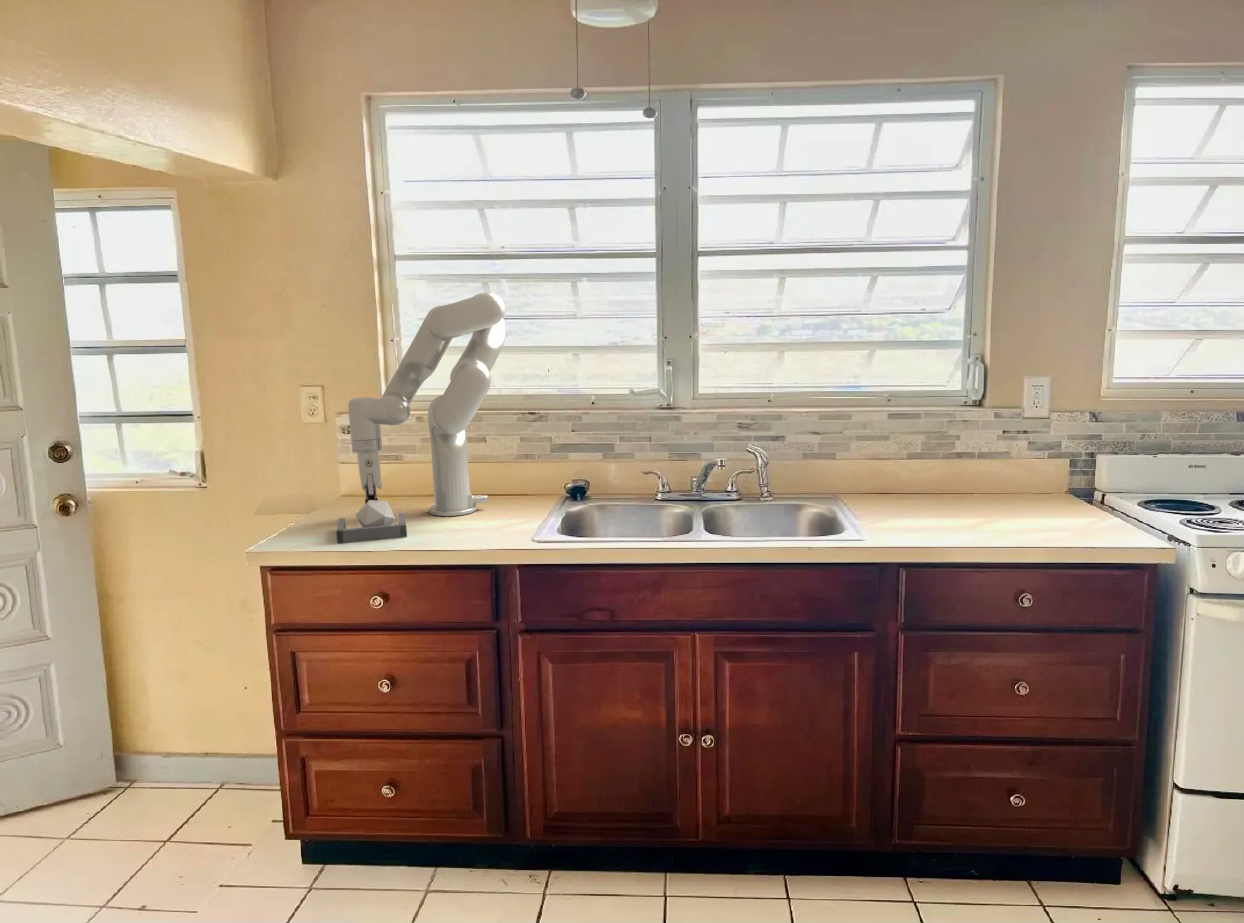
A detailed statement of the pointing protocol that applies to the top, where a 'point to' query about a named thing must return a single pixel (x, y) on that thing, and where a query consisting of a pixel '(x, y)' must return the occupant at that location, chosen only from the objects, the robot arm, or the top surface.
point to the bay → (371, 531)
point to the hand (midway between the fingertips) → (372, 513)
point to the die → (375, 514)
